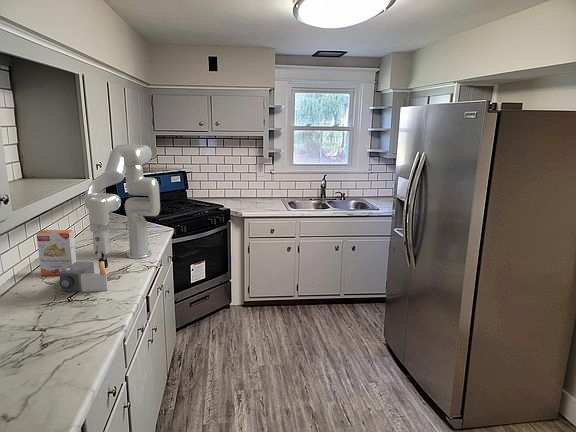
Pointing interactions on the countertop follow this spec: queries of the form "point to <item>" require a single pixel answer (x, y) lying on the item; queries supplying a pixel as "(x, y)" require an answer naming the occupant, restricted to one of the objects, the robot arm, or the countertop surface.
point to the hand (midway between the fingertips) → (103, 267)
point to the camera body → (74, 275)
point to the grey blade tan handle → (93, 280)
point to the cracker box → (55, 251)
